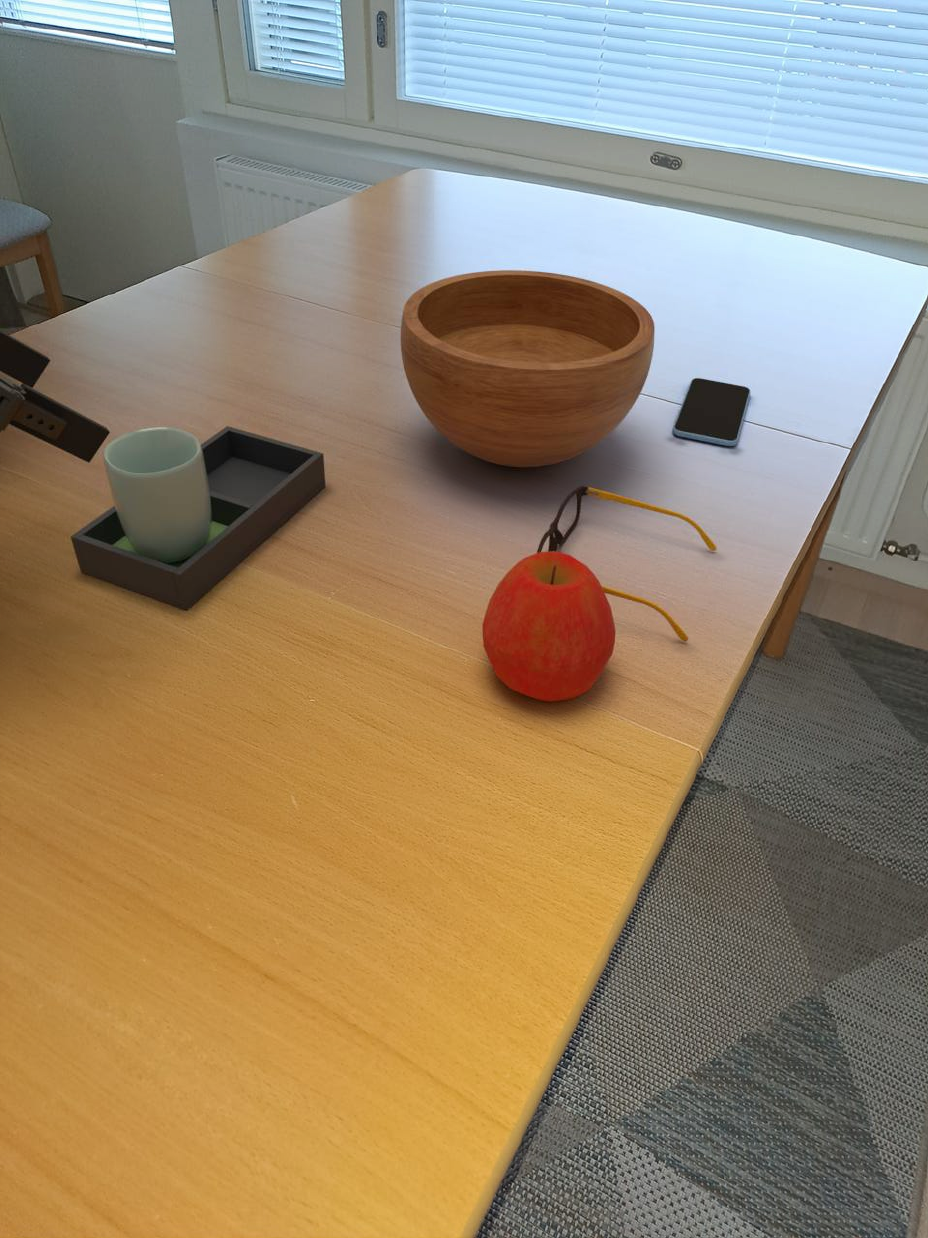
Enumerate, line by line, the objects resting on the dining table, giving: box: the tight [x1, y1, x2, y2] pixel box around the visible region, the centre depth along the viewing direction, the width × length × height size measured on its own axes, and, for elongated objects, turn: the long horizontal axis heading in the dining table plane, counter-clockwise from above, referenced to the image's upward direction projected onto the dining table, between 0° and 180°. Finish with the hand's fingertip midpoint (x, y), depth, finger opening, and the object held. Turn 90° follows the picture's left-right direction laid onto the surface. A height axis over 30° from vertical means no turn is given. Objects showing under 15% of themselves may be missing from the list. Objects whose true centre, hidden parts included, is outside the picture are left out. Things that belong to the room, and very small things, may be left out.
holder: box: [70, 425, 327, 611], centre depth 85 cm, size 11×22×4 cm, turn 155°
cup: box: [103, 426, 212, 563], centre depth 78 cm, size 8×8×10 cm
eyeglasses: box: [536, 485, 718, 642], centre depth 81 cm, size 14×14×4 cm
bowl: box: [400, 269, 656, 468], centre depth 94 cm, size 25×25×15 cm
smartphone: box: [672, 377, 751, 447], centre depth 107 cm, size 7×1×15 cm
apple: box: [481, 551, 616, 703], centre depth 69 cm, size 10×10×10 cm
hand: (67, 407), depth 69 cm, fingers open, 13 cm apart
